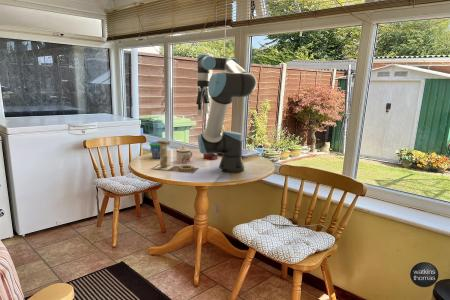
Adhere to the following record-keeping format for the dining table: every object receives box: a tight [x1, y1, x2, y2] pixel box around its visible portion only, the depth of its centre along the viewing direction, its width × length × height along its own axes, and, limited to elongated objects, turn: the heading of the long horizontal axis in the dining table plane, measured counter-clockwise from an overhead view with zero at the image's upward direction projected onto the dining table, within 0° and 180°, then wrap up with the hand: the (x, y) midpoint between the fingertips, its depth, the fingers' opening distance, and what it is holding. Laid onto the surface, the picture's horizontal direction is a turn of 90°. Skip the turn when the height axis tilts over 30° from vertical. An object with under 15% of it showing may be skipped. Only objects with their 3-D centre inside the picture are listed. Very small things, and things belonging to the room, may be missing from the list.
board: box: [150, 164, 200, 174], centre depth 178 cm, size 26×12×3 cm, turn 78°
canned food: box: [202, 153, 218, 161], centre depth 213 cm, size 11×10×10 cm
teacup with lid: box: [175, 145, 193, 164], centre depth 197 cm, size 12×9×12 cm
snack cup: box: [149, 141, 160, 159], centre depth 210 cm, size 16×10×10 cm
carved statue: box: [156, 140, 171, 168], centre depth 178 cm, size 7×4×15 cm, turn 78°
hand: (202, 114), depth 195 cm, fingers open, 13 cm apart
